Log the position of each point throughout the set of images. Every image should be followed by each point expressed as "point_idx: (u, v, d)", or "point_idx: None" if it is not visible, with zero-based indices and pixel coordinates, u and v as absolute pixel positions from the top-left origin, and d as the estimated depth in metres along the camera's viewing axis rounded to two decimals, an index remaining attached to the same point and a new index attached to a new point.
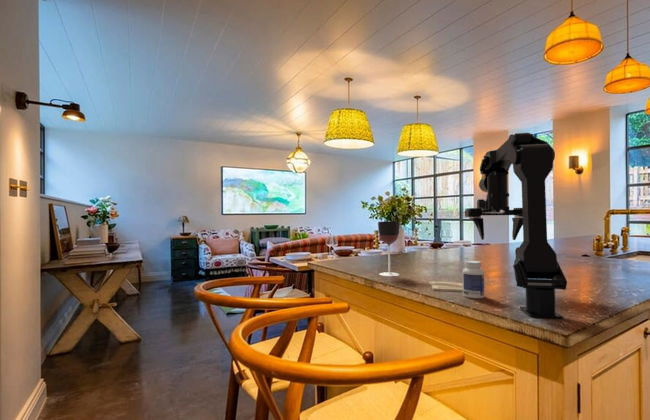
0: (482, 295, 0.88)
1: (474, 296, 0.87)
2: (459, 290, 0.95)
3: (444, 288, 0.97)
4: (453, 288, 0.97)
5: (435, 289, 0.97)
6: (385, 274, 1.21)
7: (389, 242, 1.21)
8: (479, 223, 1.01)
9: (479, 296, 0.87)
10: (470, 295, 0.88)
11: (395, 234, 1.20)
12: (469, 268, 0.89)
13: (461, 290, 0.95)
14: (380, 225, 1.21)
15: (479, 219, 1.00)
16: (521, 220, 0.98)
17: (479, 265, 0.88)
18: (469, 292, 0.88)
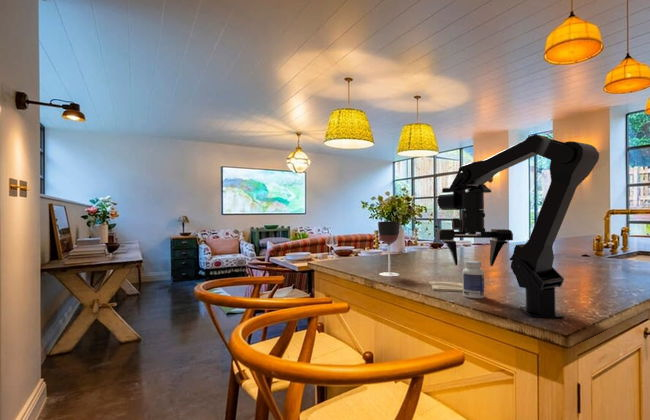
0: (482, 295, 0.88)
1: (474, 296, 0.87)
2: (459, 290, 0.95)
3: (444, 288, 0.97)
4: (453, 288, 0.97)
5: (435, 289, 0.97)
6: (385, 274, 1.21)
7: (389, 242, 1.21)
8: (451, 247, 0.89)
9: (479, 296, 0.87)
10: (470, 295, 0.88)
11: (395, 234, 1.20)
12: (469, 268, 0.89)
13: (461, 290, 0.95)
14: (380, 225, 1.21)
15: (451, 242, 0.88)
16: (499, 244, 0.86)
17: (479, 265, 0.88)
18: (469, 292, 0.88)
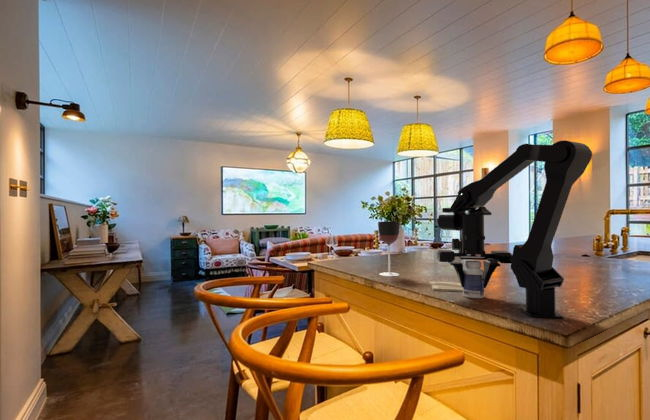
0: (482, 295, 0.88)
1: (474, 296, 0.87)
2: (459, 290, 0.95)
3: (444, 288, 0.97)
4: (453, 288, 0.97)
5: (435, 289, 0.97)
6: (385, 274, 1.21)
7: (389, 242, 1.21)
8: (458, 269, 0.88)
9: (479, 296, 0.87)
10: (470, 295, 0.88)
11: (395, 234, 1.20)
12: (469, 268, 0.89)
13: (461, 290, 0.95)
14: (380, 225, 1.21)
15: (458, 265, 0.88)
16: (492, 267, 0.86)
17: (479, 265, 0.88)
18: (469, 292, 0.88)
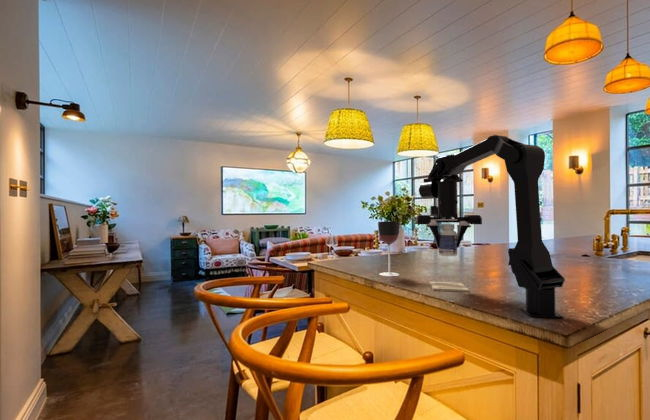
0: (455, 253, 0.98)
1: (448, 254, 0.98)
2: (459, 290, 0.95)
3: (444, 288, 0.97)
4: (453, 288, 0.97)
5: (435, 289, 0.97)
6: (385, 274, 1.21)
7: (389, 242, 1.21)
8: (434, 230, 0.99)
9: (452, 254, 0.98)
10: (444, 253, 0.99)
11: (395, 234, 1.20)
12: (444, 230, 1.00)
13: (461, 290, 0.95)
14: (380, 225, 1.21)
15: (434, 226, 0.99)
16: (463, 228, 0.97)
17: (452, 227, 0.99)
18: (443, 251, 0.99)
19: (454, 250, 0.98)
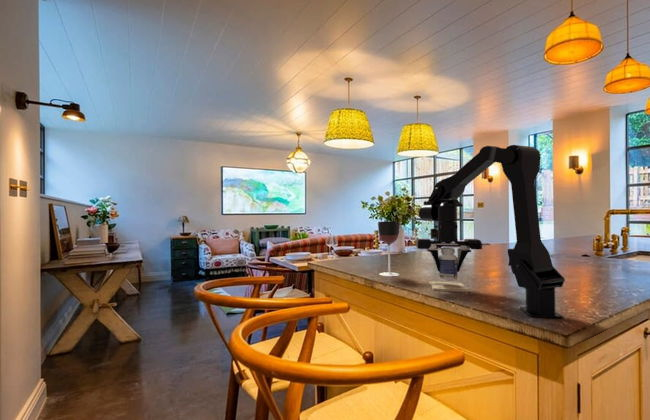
0: (455, 278, 0.98)
1: (448, 279, 0.98)
2: (459, 290, 0.95)
3: (444, 288, 0.97)
4: (453, 288, 0.97)
5: (435, 289, 0.97)
6: (385, 274, 1.21)
7: (389, 242, 1.21)
8: (434, 255, 0.99)
9: (452, 279, 0.98)
10: (445, 278, 0.99)
11: (395, 234, 1.20)
12: (444, 254, 1.00)
13: (461, 290, 0.95)
14: (380, 225, 1.21)
15: (434, 251, 0.99)
16: (463, 252, 0.97)
17: (453, 251, 0.99)
18: (444, 276, 0.99)
19: (454, 275, 0.98)
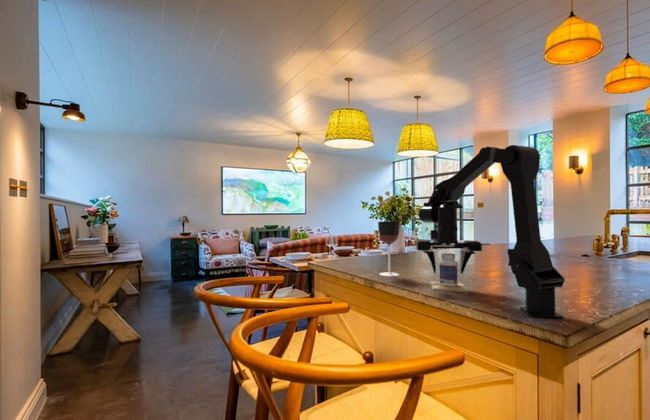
0: (455, 284, 0.98)
1: (448, 284, 0.98)
2: (459, 290, 0.95)
3: (444, 288, 0.97)
4: (453, 288, 0.97)
5: (435, 289, 0.97)
6: (385, 274, 1.21)
7: (389, 242, 1.21)
8: (430, 256, 0.99)
9: (453, 284, 0.98)
10: (445, 284, 0.99)
11: (395, 234, 1.20)
12: (444, 260, 1.00)
13: (461, 290, 0.95)
14: (380, 225, 1.21)
15: (430, 253, 0.99)
16: (467, 254, 0.97)
17: (453, 257, 0.99)
18: (444, 281, 0.99)
19: (455, 280, 0.98)
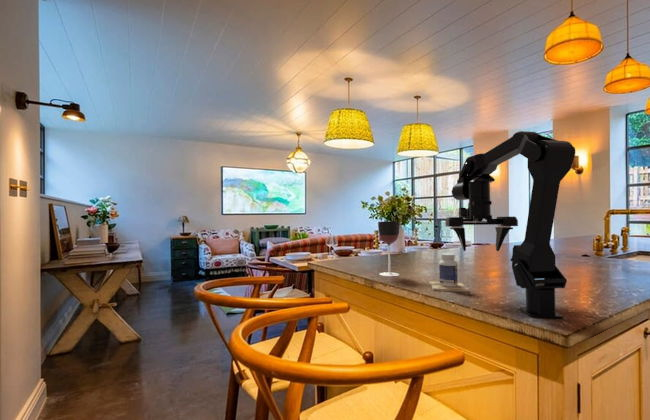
0: (455, 284, 0.98)
1: (448, 285, 0.98)
2: (459, 290, 0.95)
3: (444, 288, 0.97)
4: (453, 288, 0.97)
5: (435, 289, 0.97)
6: (385, 274, 1.21)
7: (389, 242, 1.21)
8: (460, 233, 0.94)
9: (452, 285, 0.98)
10: (445, 284, 0.99)
11: (395, 234, 1.20)
12: (444, 260, 1.00)
13: (461, 290, 0.95)
14: (380, 225, 1.21)
15: (460, 229, 0.93)
16: (505, 230, 0.92)
17: (453, 257, 0.99)
18: (444, 281, 0.99)
19: (454, 281, 0.98)
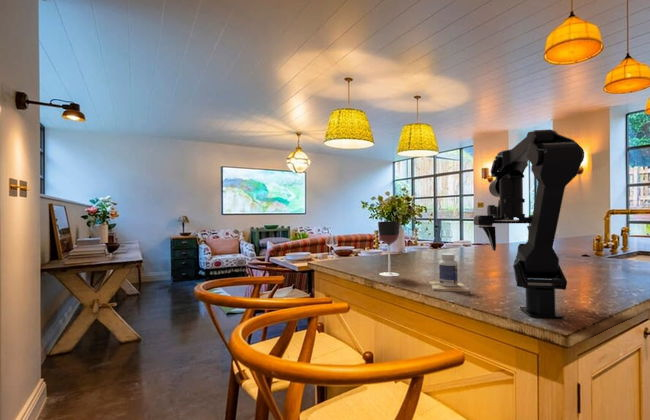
0: (455, 284, 0.98)
1: (448, 284, 0.98)
2: (459, 290, 0.95)
3: (444, 288, 0.97)
4: (453, 288, 0.97)
5: (435, 289, 0.97)
6: (385, 274, 1.21)
7: (389, 242, 1.21)
8: (490, 232, 0.90)
9: (452, 284, 0.98)
10: (445, 284, 0.99)
11: (395, 234, 1.20)
12: (444, 260, 1.00)
13: (461, 290, 0.95)
14: (380, 225, 1.21)
15: (491, 228, 0.89)
16: None
17: (453, 257, 0.99)
18: (444, 281, 0.99)
19: (454, 280, 0.98)
